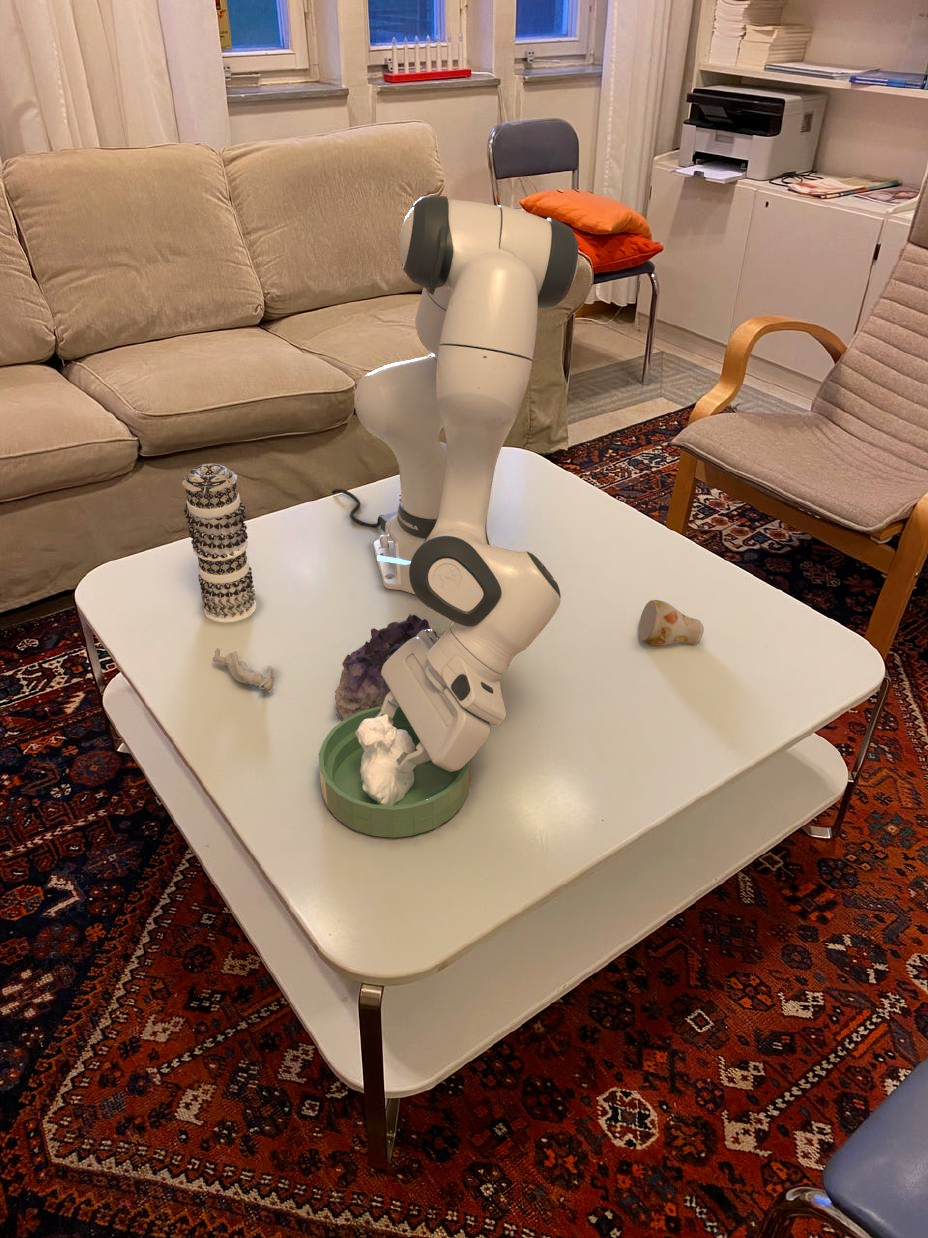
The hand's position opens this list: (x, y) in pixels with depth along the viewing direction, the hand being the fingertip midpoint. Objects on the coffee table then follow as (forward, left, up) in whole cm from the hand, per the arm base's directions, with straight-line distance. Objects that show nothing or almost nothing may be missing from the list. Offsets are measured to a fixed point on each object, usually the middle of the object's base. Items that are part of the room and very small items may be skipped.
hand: (389, 747), depth 120 cm
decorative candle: (-49, -10, -7) cm, 51 cm away
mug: (-13, +52, -7) cm, 54 cm away
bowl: (0, +1, -7) cm, 7 cm away
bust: (0, -1, -6) cm, 6 cm away
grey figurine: (-29, -12, -7) cm, 32 cm away
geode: (-19, +7, -7) cm, 21 cm away
